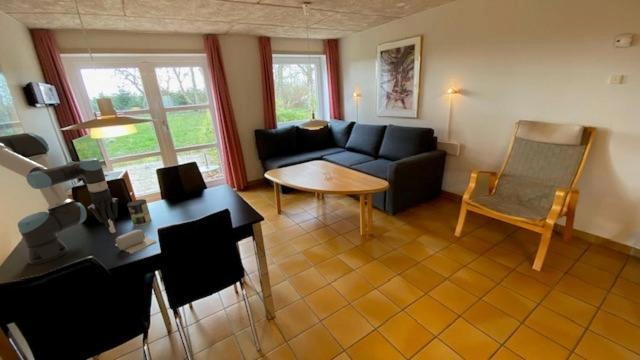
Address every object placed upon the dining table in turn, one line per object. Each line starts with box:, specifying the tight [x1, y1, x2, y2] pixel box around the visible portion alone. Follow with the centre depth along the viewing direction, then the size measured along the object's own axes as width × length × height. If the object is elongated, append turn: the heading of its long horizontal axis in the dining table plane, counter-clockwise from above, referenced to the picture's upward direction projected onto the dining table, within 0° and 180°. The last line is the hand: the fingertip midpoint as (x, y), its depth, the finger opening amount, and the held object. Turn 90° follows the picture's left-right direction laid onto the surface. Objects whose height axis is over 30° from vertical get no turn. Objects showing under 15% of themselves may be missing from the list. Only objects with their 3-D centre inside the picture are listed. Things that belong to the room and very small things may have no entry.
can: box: [115, 229, 146, 251], centre depth 146 cm, size 8×8×12 cm
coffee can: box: [126, 198, 152, 226], centre depth 174 cm, size 10×10×14 cm
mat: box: [114, 235, 157, 255], centre depth 150 cm, size 13×18×1 cm
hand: (112, 231), depth 140 cm, fingers closed
